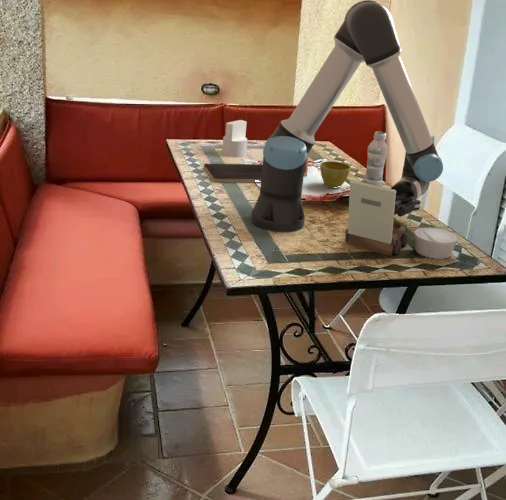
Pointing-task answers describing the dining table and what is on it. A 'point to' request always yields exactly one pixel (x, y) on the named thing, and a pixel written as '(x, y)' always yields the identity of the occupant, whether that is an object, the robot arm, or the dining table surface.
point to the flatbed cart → (384, 248)
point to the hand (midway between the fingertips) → (379, 216)
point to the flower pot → (334, 173)
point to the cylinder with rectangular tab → (235, 139)
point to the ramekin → (434, 242)
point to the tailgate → (371, 211)
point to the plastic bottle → (376, 160)
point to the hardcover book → (234, 172)
